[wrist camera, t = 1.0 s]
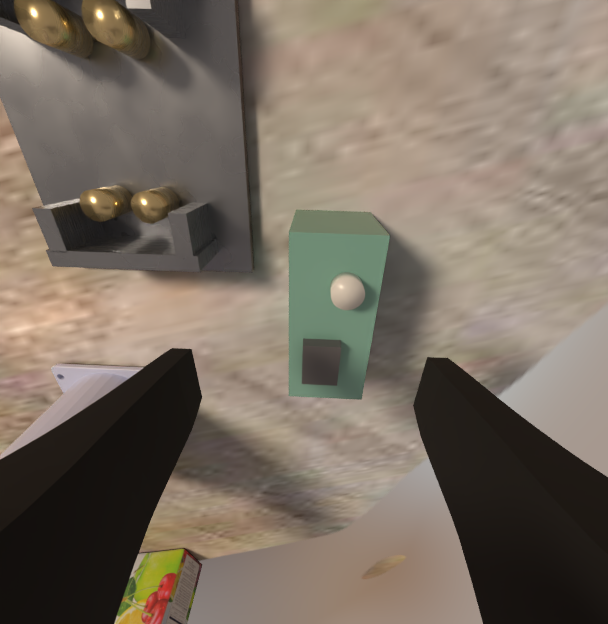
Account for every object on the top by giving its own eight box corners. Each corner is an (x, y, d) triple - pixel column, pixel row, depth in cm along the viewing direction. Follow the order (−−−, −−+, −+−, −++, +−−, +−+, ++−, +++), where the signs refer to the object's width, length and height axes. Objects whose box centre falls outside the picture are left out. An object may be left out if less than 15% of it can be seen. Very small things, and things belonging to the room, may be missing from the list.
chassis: (254, 268, 17) (241, 294, 14) (74, 261, 18) (24, 285, 15) (231, -95, 10) (197, -195, 7) (-65, -101, 11) (-217, -200, 8)
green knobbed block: (351, 345, 20) (363, 410, 15) (294, 342, 20) (287, 407, 15) (369, 211, 16) (394, 241, 11) (296, 209, 16) (287, 237, 11)
